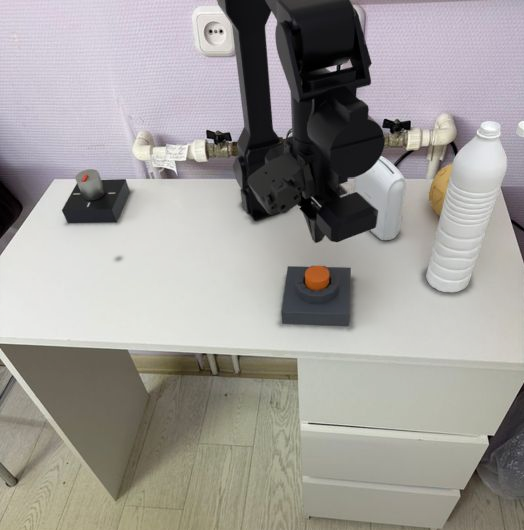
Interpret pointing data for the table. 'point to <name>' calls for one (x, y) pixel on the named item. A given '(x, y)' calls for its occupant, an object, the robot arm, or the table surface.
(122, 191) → the panel
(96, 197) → the dial
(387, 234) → the photo printer
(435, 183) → the stress ball
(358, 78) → the robot arm
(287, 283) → the box
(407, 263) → the table surface
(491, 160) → the water bottle
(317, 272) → the button
